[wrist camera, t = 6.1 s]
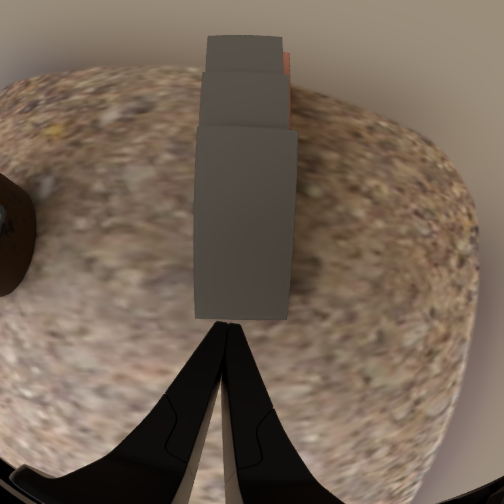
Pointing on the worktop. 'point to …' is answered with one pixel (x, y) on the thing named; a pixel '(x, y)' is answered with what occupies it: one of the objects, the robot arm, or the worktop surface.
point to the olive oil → (14, 234)
